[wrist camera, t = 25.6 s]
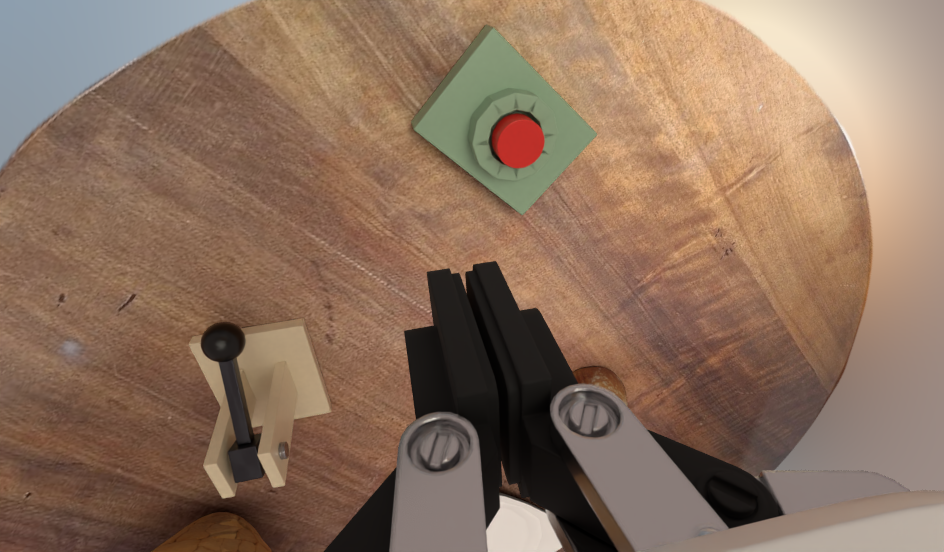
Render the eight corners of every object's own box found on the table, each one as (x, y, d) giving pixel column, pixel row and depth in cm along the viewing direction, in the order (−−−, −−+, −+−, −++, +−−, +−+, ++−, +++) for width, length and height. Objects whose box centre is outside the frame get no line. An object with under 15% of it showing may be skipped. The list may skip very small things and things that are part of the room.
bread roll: (598, 389, 65) (649, 422, 59) (546, 441, 62) (593, 481, 56) (586, 340, 60) (640, 370, 54) (527, 393, 56) (578, 432, 50)
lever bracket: (192, 336, 44) (146, 441, 34) (303, 317, 45) (290, 413, 36) (235, 422, 51) (206, 531, 41) (331, 404, 52) (326, 504, 42)
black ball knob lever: (205, 321, 39) (189, 331, 36) (246, 315, 40) (233, 324, 37) (239, 466, 41) (226, 487, 38) (277, 459, 42) (268, 479, 39)
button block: (410, 121, 38) (415, 136, 34) (486, 23, 35) (499, 29, 32) (515, 205, 43) (528, 225, 40) (587, 127, 41) (607, 141, 37)
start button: (481, 141, 36) (487, 149, 34) (514, 102, 35) (521, 108, 33) (514, 169, 38) (521, 177, 36) (546, 133, 37) (554, 140, 35)
